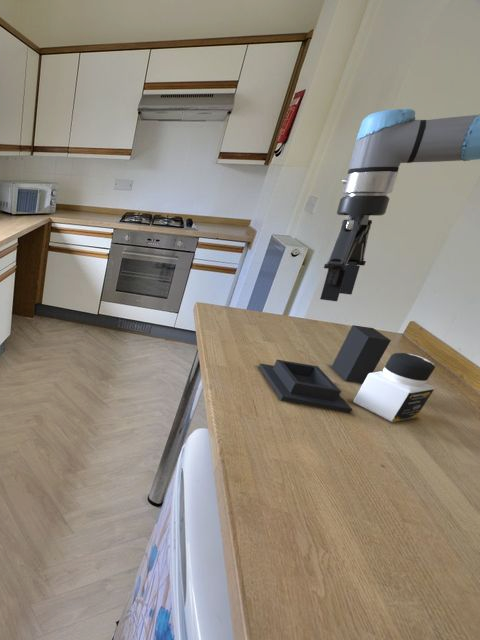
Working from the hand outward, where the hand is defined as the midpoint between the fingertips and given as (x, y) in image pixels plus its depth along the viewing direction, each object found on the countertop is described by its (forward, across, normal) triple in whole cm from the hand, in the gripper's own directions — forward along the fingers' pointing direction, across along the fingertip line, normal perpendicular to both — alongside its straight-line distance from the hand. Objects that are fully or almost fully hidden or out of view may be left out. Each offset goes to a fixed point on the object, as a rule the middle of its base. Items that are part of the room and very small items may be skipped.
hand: (336, 296), depth 91 cm
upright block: (+18, -5, +5) cm, 20 cm away
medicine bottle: (+20, +8, +13) cm, 25 cm away
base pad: (+19, +12, 0) cm, 22 cm away
